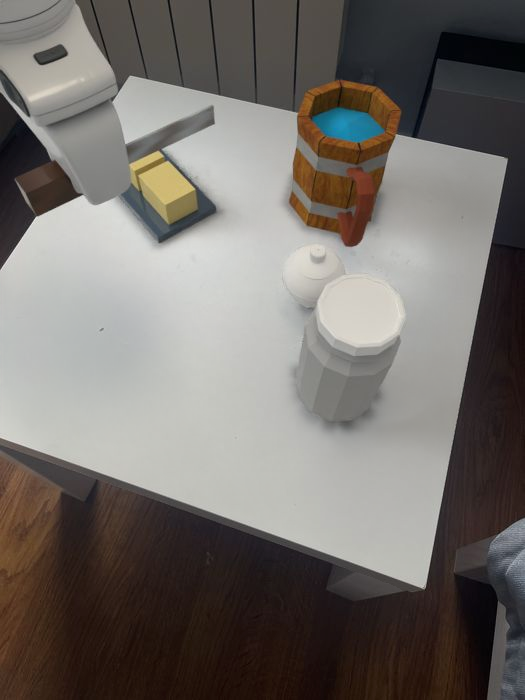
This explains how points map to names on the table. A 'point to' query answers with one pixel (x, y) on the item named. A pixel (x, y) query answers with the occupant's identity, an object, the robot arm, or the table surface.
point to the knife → (55, 189)
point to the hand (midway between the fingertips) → (73, 175)
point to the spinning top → (311, 272)
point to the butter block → (168, 192)
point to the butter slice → (144, 167)
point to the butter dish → (154, 219)
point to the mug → (342, 156)
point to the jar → (349, 346)
